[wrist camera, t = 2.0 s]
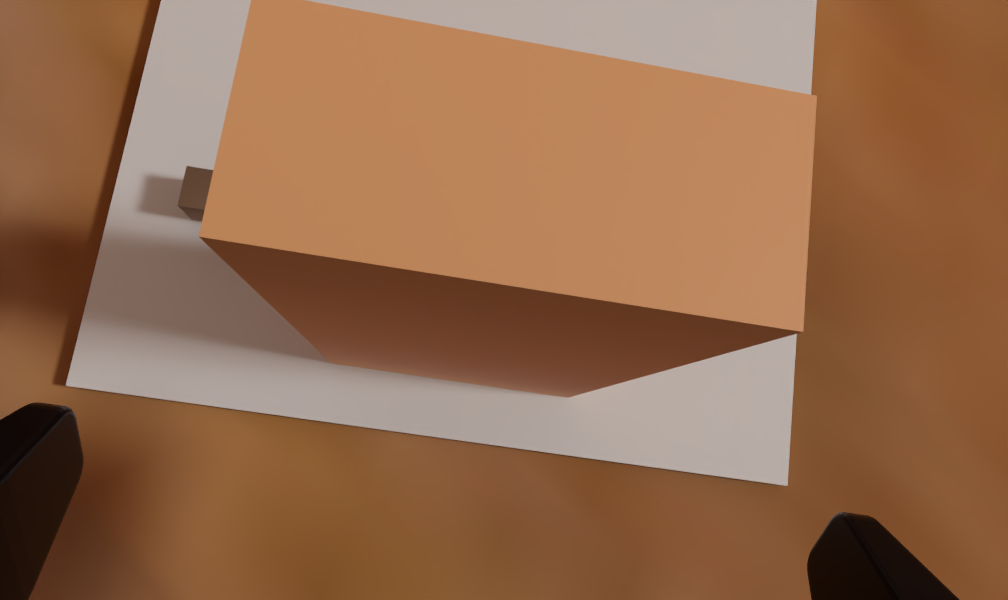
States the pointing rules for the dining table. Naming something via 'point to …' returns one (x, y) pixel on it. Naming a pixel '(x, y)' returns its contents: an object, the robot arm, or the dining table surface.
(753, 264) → the orange block
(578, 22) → the mat
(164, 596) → the dining table surface
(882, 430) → the dining table surface
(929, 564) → the dining table surface
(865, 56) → the dining table surface
